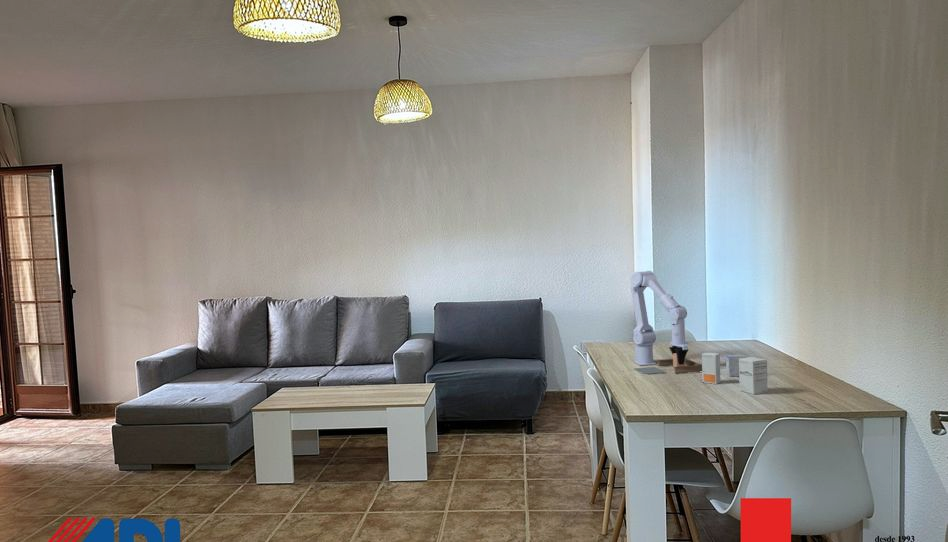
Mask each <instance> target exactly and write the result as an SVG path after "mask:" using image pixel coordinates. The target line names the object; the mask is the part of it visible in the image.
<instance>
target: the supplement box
mask: <svg viewBox="0 0 948 542" xmlns="http://www.w3.org/2000/svg"><path fill="white" fill-rule="evenodd" d="M747 357H748V358H741V359H739V380H738V381H739V391H740V392H744V393H747V394H752V395H759V394H765V393H768V388H769V387H768V359H765V358H759V357H754V356H747Z"/></svg>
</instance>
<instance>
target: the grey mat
mask: <svg viewBox="0 0 948 542" xmlns="http://www.w3.org/2000/svg"><path fill="white" fill-rule="evenodd" d="M634 369H635V370H634ZM633 370H634V371H636V370H637V371H636V372H638V371H639V372H638V373H640V372H641V374H642V373H643V374H642V375H644V374H648V375H655V374H654V373H662V374H666V373H665V372H666V371H665V370H662V369H660V368H658V367H656V366H649V367H636V368H633Z"/></svg>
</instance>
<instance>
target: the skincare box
mask: <svg viewBox="0 0 948 542" xmlns="http://www.w3.org/2000/svg"><path fill="white" fill-rule="evenodd" d="M701 364H702V372H701V373H702V376H701V377H702V383H703V382H704V383H706V384H711V383H712V385H718V384H720V383H721V354H720V353H716V352H704V353H703V352H702V353H701Z"/></svg>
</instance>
